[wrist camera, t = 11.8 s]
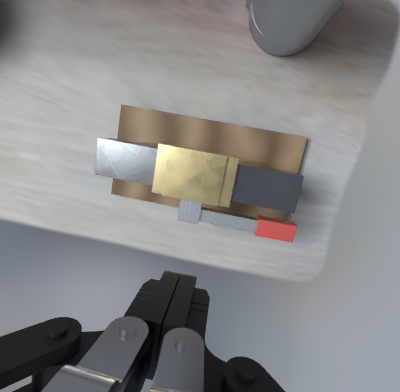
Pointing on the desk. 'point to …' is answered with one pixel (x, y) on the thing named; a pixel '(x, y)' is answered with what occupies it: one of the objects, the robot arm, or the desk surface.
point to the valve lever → (237, 221)
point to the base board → (207, 140)
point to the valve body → (198, 174)
